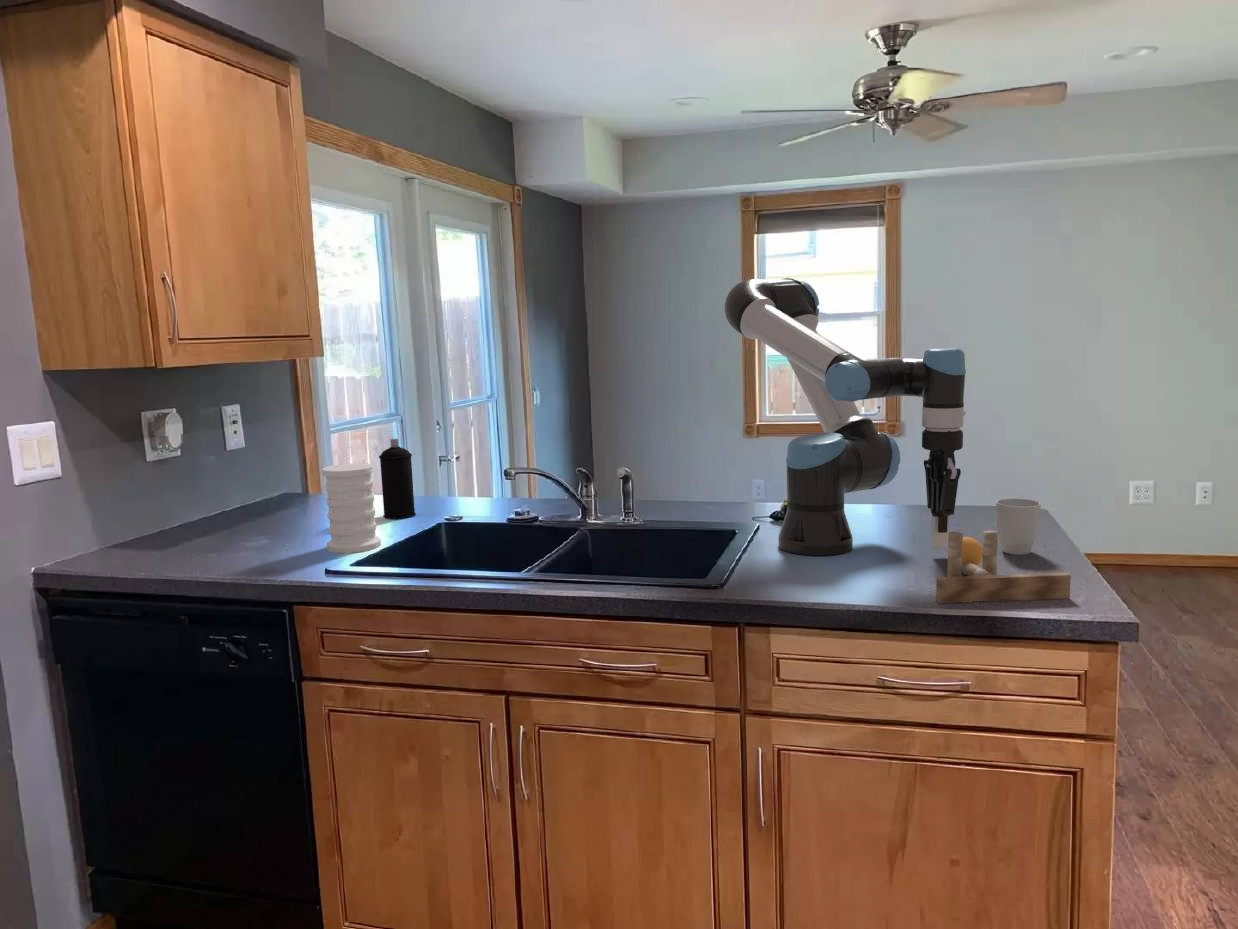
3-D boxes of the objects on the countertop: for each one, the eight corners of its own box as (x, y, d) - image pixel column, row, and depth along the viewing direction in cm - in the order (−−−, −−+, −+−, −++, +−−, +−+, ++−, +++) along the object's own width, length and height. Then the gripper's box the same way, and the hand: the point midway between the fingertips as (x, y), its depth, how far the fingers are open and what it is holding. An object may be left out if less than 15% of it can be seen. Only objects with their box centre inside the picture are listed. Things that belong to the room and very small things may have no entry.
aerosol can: (411, 519, 231) (406, 440, 227) (379, 520, 231) (373, 441, 228) (419, 512, 239) (414, 436, 236) (387, 513, 239) (382, 437, 236)
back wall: (939, 603, 152) (940, 580, 151) (935, 600, 154) (936, 577, 153) (1069, 598, 153) (1070, 575, 152) (1064, 595, 154) (1065, 572, 154)
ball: (953, 527, 172) (938, 551, 175) (965, 548, 167) (949, 572, 170) (981, 533, 173) (966, 556, 176) (994, 554, 168) (978, 577, 171)
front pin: (960, 572, 168) (983, 585, 160) (965, 560, 168) (988, 573, 159) (971, 576, 168) (994, 590, 160) (976, 564, 168) (1000, 577, 160)
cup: (1044, 550, 183) (1046, 501, 182) (1030, 558, 177) (1032, 508, 176) (1003, 544, 189) (1005, 497, 187) (988, 552, 183) (989, 503, 181)
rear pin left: (985, 580, 164) (987, 533, 163) (979, 576, 167) (981, 530, 165) (998, 579, 164) (1000, 533, 163) (992, 575, 167) (994, 530, 165)
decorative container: (369, 538, 211) (364, 461, 209) (388, 547, 202) (383, 467, 199) (319, 546, 205) (313, 467, 202) (337, 556, 195) (330, 473, 193)
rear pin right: (950, 581, 164) (951, 535, 163) (945, 577, 167) (946, 532, 165) (963, 580, 164) (964, 534, 163) (958, 577, 167) (959, 531, 165)
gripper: (975, 432, 170) (971, 555, 174) (948, 424, 183) (945, 538, 187) (936, 433, 170) (933, 556, 174) (911, 425, 183) (909, 540, 187)
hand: (939, 547), depth 180 cm, fingers closed
